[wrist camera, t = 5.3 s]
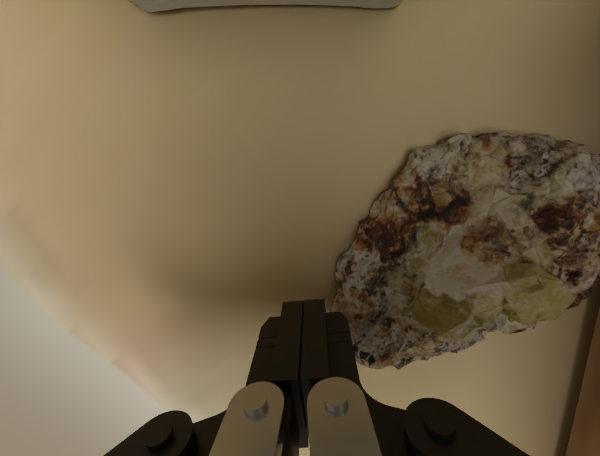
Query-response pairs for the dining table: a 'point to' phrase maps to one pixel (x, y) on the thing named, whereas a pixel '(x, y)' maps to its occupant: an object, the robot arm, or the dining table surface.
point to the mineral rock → (471, 246)
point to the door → (588, 405)
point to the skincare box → (257, 3)
